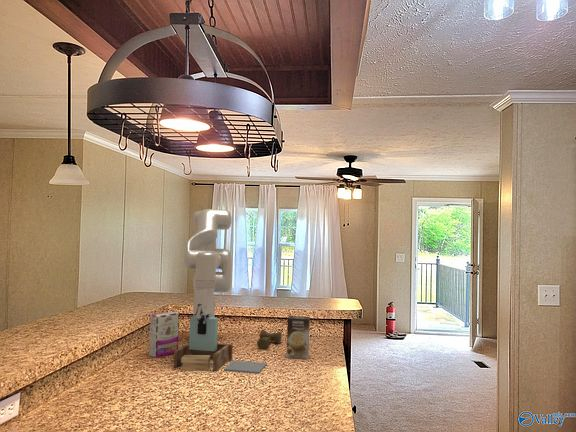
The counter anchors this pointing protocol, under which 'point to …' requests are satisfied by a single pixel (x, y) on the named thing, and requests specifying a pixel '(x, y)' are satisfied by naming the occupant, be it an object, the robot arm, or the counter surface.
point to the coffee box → (298, 337)
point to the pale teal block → (200, 340)
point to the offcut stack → (195, 363)
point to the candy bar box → (164, 334)
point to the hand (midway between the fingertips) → (203, 332)
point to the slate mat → (245, 367)
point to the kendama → (268, 339)
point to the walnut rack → (218, 356)
